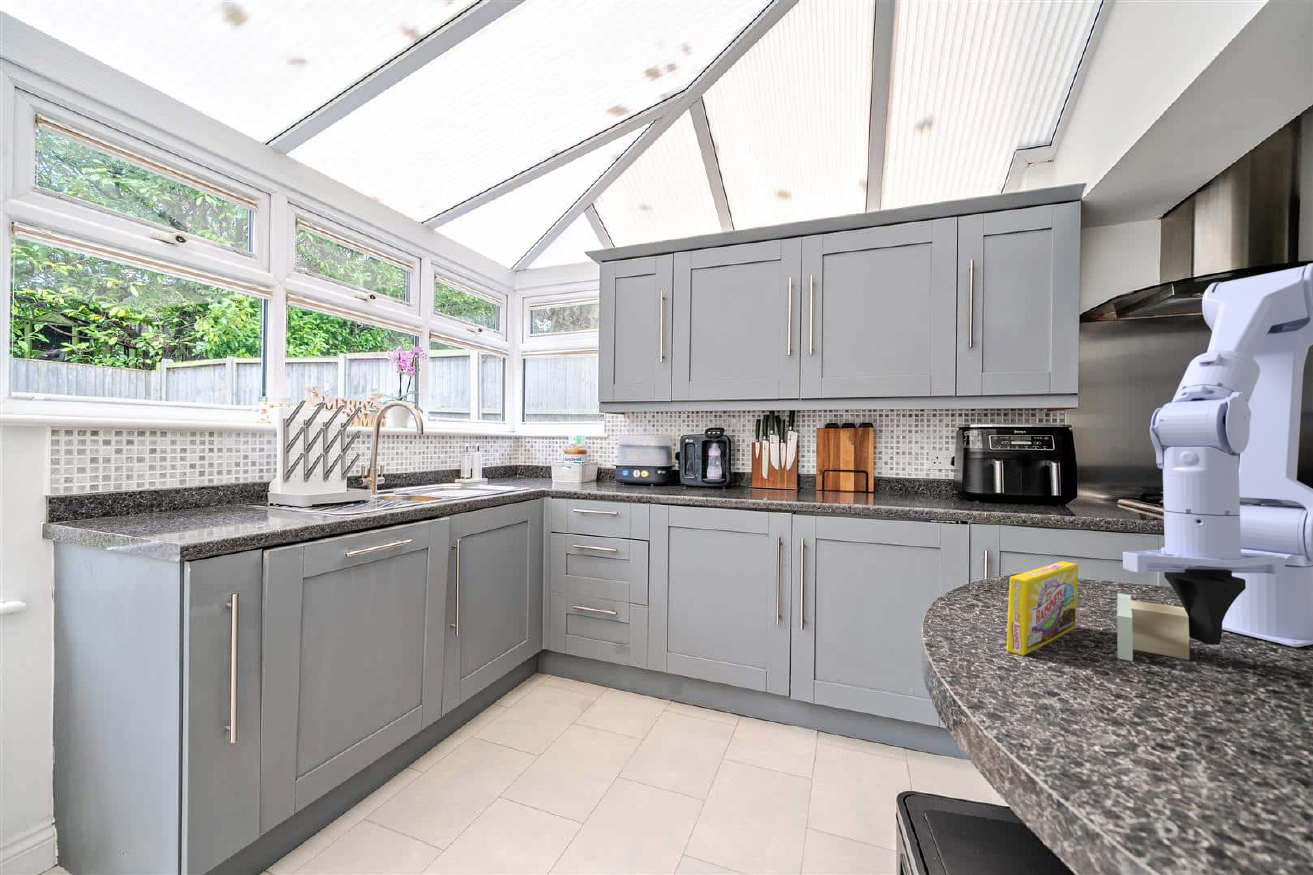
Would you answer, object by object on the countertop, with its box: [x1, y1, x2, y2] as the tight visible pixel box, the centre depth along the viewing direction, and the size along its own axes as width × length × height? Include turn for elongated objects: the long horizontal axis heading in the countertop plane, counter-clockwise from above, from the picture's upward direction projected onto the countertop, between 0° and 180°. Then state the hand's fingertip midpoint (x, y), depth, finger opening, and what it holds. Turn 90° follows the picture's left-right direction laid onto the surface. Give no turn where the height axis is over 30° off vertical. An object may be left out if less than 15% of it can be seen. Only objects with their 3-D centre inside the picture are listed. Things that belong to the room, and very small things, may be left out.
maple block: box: [1131, 599, 1190, 661], centre depth 59 cm, size 4×4×4 cm
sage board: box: [1116, 592, 1134, 662], centre depth 61 cm, size 1×12×4 cm, turn 139°
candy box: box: [1006, 560, 1079, 657], centre depth 62 cm, size 16×2×8 cm, turn 126°
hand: (1203, 641), depth 57 cm, fingers closed, pressing on maple block
